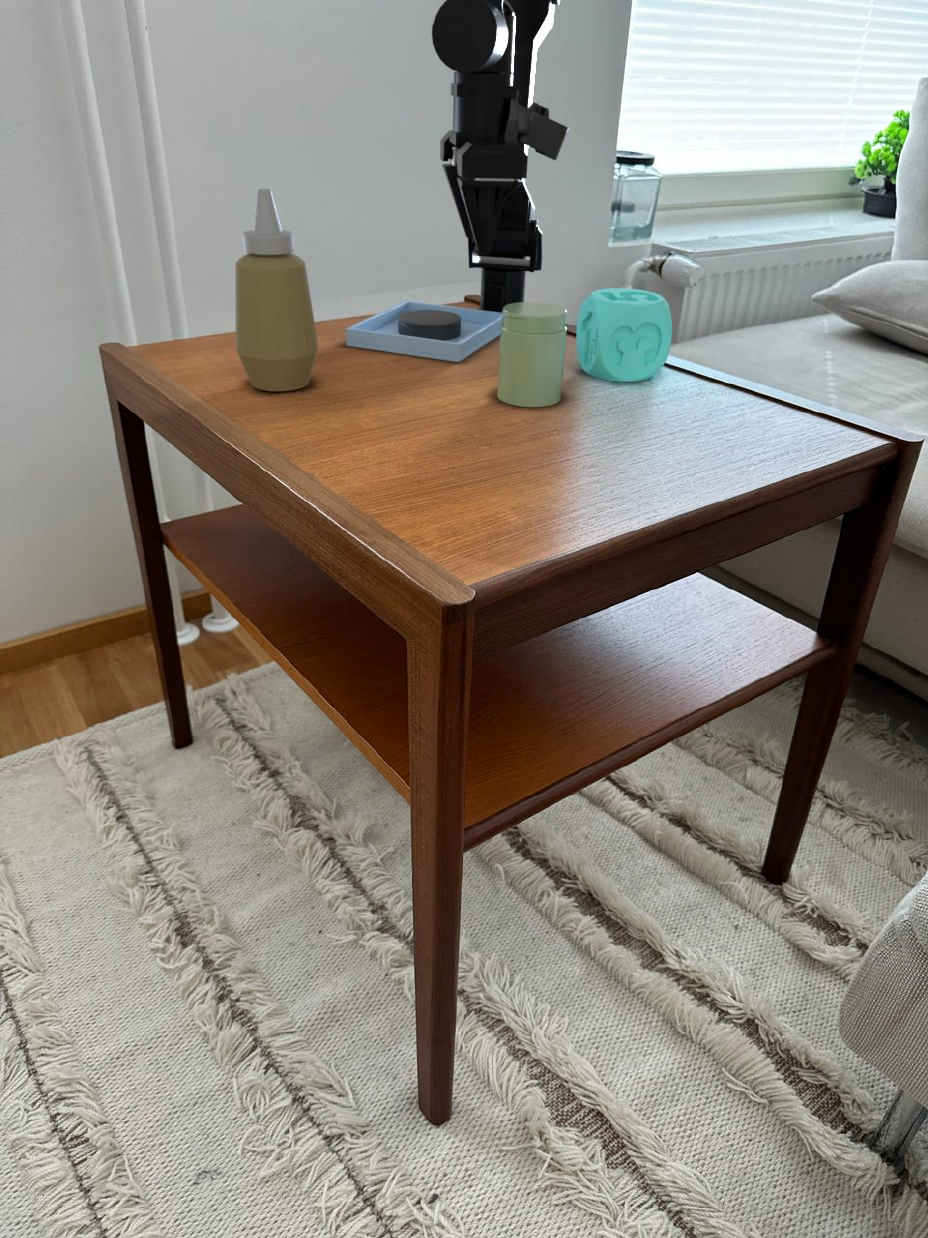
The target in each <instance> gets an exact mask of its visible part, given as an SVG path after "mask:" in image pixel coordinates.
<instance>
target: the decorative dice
mask: <svg viewBox="0 0 928 1238" xmlns="http://www.w3.org/2000/svg"><path fill="white" fill-rule="evenodd" d="M672 336H673V321H672V314H671V309H670V306H669V303H668V301H667V300H666V299H665V297H663V296H662V295H661V294H659V293H656V292H653V291H648V290H643V289H637V288H626V287H625V288H622V287H612V288H611V287H610V288H609V287H608V288H599V289H596V290H594V291H592V292H591V293H590V294H589V295H588V296H587V297H586V298H585V299H584V300H583V301H582V303H581V306H580V309H579V312H578V316H577V324H576V337H575V338H576V340H575V341H576V352H577V358H578V362H579V365H580V367H581V369H582V370H583V372H584V373H585V374H587V375H589V376H590V377H593V378H595V379H598V380H604V381H608V382H616V383H617V382H618V383H635V382H636V383H637V382H642V381H646V380H649V379H651V378H652V377H654V376H655V375H656V374H657V373H658V372H659V371H660V370H661V369H663V366H664V365H665V364H666V362H667V360H668V357H669V354H670V350H671V345H672V338H673V337H672Z"/></svg>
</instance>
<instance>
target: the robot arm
mask: <svg viewBox="0 0 928 1238" xmlns="http://www.w3.org/2000/svg"><path fill="white" fill-rule="evenodd" d="M560 3H561V0H445V1H444V2H443V3H442V4H441V5H440V6H439V8H438V10H437V12H436V13H435V16H434V19H433V24H432V25H431V39H432V45H433V48H434V51H435V54H436V56H437V57H438V59H439V60H440V62H442V63H443V64H444V66H446V67H447V68H449V69H450V70H452V71H453V82H450V96H453V97H452V98H453V102H452V104H453V105H452V130H451V129H450V130H448V131H447V132H446V133H445V134H444V135H443V137H442V138H441V139H440V140H439V141H440V143H439V146H440V147H439V148H440V149H439V156H440V157H439V159H440V161H442V162H449V163H442V164H441V166H442V170H443V172H444V175H445V178H446V181H447V184H448V187H449V190H450V192H451V196H452V198H453V201H454V204H455V207H456V211H457V214H458V215H459V220H460V222H461V226H462V229H463V233H464V235H465V237H466V238H467V250H468V251H467V253H468V268H469V269H474V268H475V269H481V271H480V272H481V274H480V298H479V299H480V300H479V301H480V302H479V308H477V310H484V311H492V312H500V313H502V311H503V309H504V306H506V305H508V304H512V303H518V302H525V291H526V274H527V272H529V273H535V272H537V271H542V267H543V251H544V249H543V232H542V230H540V225H539V220H538V219H535V215H536V207H535V204H534V202H533V200H532V197H531V194H530V193H529V191H528V188H527V186H526V179H527V178H528V177H527V174H528V160H529V156H528V155H529V154H528V153H529V148H532V149H534V151H535V152H536V153H537V154H540V155H542V156H544V157H547V158H549V159H551V160H553V161H557V160H558V157H559V154H560V152H561V149H562V146H563V144H564V141H565V138H566V137H567V134H568V132H569V129H570V128H569V127H568V126H566V125H564V124H562V123H559V122H557V121H556V120H553V119H551V118H550V109H549V108H548V107H545V106H543V105H541V104H539V103H538V102H533V97H534V87H535V77H536V76H535V74H536V63H537V52H538V49H539V47H540V46H541V44H542V43H543V41H544V40H545V38H546V37H547V35H548V33H549V32H550V31H551V29H552V28H553V25H554V15H555V6H559V5H560ZM527 258H529V259H527Z"/></svg>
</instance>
